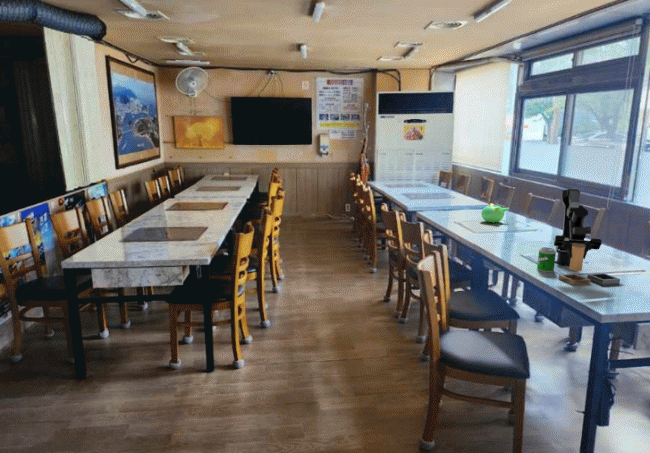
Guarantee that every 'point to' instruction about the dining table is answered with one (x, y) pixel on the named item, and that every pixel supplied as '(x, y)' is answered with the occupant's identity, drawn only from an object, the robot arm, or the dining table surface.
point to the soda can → (546, 259)
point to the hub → (604, 280)
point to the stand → (574, 279)
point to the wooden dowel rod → (577, 256)
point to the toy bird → (493, 213)
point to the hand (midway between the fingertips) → (577, 257)
